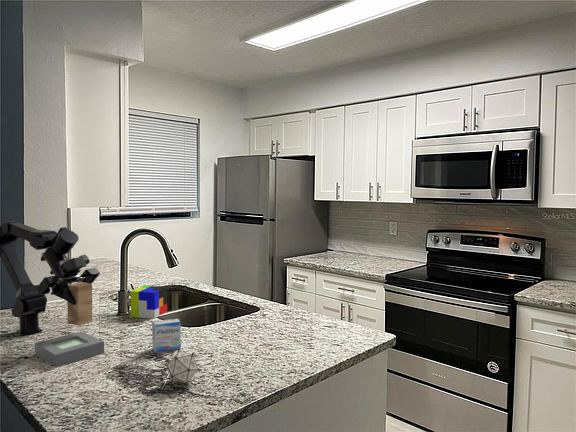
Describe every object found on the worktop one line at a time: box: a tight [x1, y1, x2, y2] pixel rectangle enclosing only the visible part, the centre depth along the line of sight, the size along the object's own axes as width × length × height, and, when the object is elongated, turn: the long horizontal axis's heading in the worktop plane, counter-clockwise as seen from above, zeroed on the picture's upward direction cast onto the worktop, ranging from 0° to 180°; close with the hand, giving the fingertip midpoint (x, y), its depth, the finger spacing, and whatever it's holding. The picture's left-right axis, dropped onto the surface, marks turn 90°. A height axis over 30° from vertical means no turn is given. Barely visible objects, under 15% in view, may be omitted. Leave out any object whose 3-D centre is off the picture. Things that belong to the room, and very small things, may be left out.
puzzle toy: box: [130, 285, 168, 320], centre depth 173 cm, size 10×10×10 cm
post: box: [66, 282, 93, 327], centre depth 138 cm, size 5×5×12 cm
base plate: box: [34, 330, 105, 368], centre depth 132 cm, size 14×14×4 cm
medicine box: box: [151, 318, 182, 354], centre depth 137 cm, size 8×4×9 cm, turn 117°
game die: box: [162, 349, 203, 387], centre depth 113 cm, size 9×8×10 cm
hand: (82, 302), depth 138 cm, fingers closed on post, 5 cm apart
